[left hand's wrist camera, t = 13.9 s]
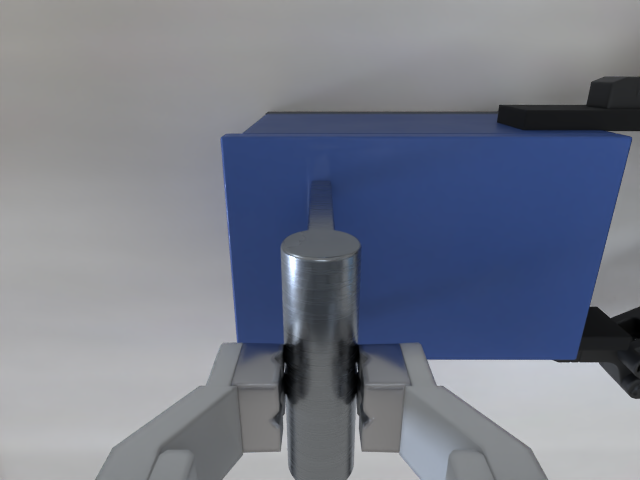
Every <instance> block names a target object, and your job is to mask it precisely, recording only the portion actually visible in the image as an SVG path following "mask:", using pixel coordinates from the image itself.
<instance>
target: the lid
mask: <svg viewBox="0 0 640 480" xmlns="http://www.w3.org/2000/svg"><path fill="white" fill-rule="evenodd" d="M631 142H632V137H630V136H626V135H621V134H225V135H224V136H222V137H221V150H222V162H223V174H224V186H225V199H226V211H227V223H228V236H229V248H230V260H231V272H232V285H233V297H234V309H235V322H236V334H237V343H243V344H244V343H274V344H284V352H285V378H286V415H287V443H288V466H289V470H290V472H291V474H292V476H293V477H294V479H295V480H347V479H348V477H349V476H350V474H351V472H352V470H353V465H354V442H355V415H356V380H357V353H358V344H398V343H420V344H421V346H422V348H423V351H424V353H425V356H426V359H427V360H575V359H576V358H577V354H578V350H579V346H580V342H581V338H582V334H583V330H584V326H585V322H586V318H587V314H588V310H589V307H590V303H591V299H592V295H593V291H594V287H595V283H596V279H597V275H598V271H599V267H600V263H601V259H602V255H603V252H604V248H605V244H606V240H607V236H608V232H609V228H610V224H611V220H612V216H613V212H614V208H615V204H616V200H617V197H618V193H619V189H620V185H621V181H622V177H623V173H624V169H625V165H626V161H627V157H628V153H629V149H630V145H631Z"/></svg>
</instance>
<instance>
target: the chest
mask: <svg viewBox="0 0 640 480" xmlns="http://www.w3.org/2000/svg"><path fill="white" fill-rule="evenodd" d="M497 118H498V112H267V113H266V115H265V116H263V117H262V118H261V119H260V120H259V121H257V122H256V123H255V124H254V125H252V126H251V127H250V128H249V129H247V130H246V131H245V132H244V133H242V134H616V133H612V132H608V131H603V130H521V129H518V128H514V127H511V126H507V125H504V124H501V123H497Z"/></svg>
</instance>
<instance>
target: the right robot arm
mask: <svg viewBox="0 0 640 480" xmlns="http://www.w3.org/2000/svg"><path fill="white" fill-rule="evenodd" d="M497 123H501V124H504V125H507V126H511V127H514V128H518V129H521V130H603V131H640V77H603V78H600V79H598V80H595V81H593V82H591V86H590V91H589V96H588V101H587V105H499V111H498V118H497ZM635 339H636V340H635ZM554 361H557V362H599V364H600V365H601V366H602V367H603V368H604V369H605V370H606V372H607V373H608V374H609V375H610V376H611V377H612V378H613V379H614V380H615V381H616V382H617V383H618V384H619V385H620V386H621V387H622V388H623V389H624V390H625V391H626V393H627V394H628V395H629V396H630V397H632V398H635V399H640V307H637V308H635V309H633V310H630V311H628V312H625V313H623V314H620V315H618V316H615V317H613V318H610V317H608V316H607V315H606V314H605V313H604V312H602V311H601V310H600V309H599V308H598V307H589V310H588V314H587V318H586V322H585V326H584V330H583V334H582V338H581V342H580V346H579V350H578V354H577V358H576V359H575V360H554Z"/></svg>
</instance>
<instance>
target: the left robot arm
mask: <svg viewBox="0 0 640 480" xmlns="http://www.w3.org/2000/svg"><path fill="white" fill-rule="evenodd" d="M284 366H285V352H284V344H274V343H244V344H243V343H223V344H222V345H221V346H220V348H219V351H218V354H217V356H216V359H215V362H214V365H213V367H212V370H211V373H210V375H209V378H208V381H207V384H206V386H199V387H197V388H196V389H195V390H193V391H192V392H190V393H189V394H188V395H186V396H185V397H183V398H182V399H181V400H179V401H178V402H176V403H175V404H174V405H172V406H171V407H169V408H168V409H167V410H165V411H164V412H162V413H161V414H160V415H158V416H157V417H155V418H154V419H153V420H151V421H150V422H148V423H147V424H146V425H144V426H143V427H141V428H140V429H138V430H137V431H136V432H134V433H133V434H131V435H130V436H129V437H127V438H126V439H124V440H123V441H122V442H120V443H119V444H117V445H116V446H115V447H113V448H112V450H111V452H110V454H109V456H108V457H107V459H106V461H105V463H104V465H103V466H102V468H101V470H100V472H99V474H98V475H97V477H96V479H95V480H222V479H223V478H224V477H225V475H226V474H227V473H228V472H229V471H230V470H231V468H232V467H233V466H234V465H235V464H236V462H237V461H238V460H239V459H240V458H241V456H242V455H243V453H244V452H279V451H281V443H282V434H283V415H284V414H285V404H286V378H285V372H284ZM357 366H358V372H357V380H356V403H357V414H358V415H359V432H360V441H361V449H362V452H398V453H400V456H401V457H402V458H403V459H404V460H405V462H406V463H407V464H408V465H409V466H410V468H411V469H412V470H413V471H414V472H415V473H416V475H417V476H418V477H419V478H420V479H421V480H548V478H547V477H546V475H545V473H544V471H543V469H542V468H541V466H540V464H539V462H538V461H537V459H536V457H535V455H534V453H533V452H532V450H531V448H529V447H528V446H527V445H525V444H524V443H522V442H521V441H520V440H518V439H517V438H515V437H514V436H513V435H511V434H510V433H508V432H507V431H506V430H504V429H503V428H501V427H500V426H499V425H497V424H496V423H494V422H493V421H491V420H490V419H489V418H487V417H486V416H484V415H483V414H482V413H480V412H479V411H477V410H476V409H475V408H473V407H472V406H470V405H469V404H468V403H466V402H465V401H463V400H462V399H461V398H459V397H458V396H456V395H455V394H453V393H452V392H451V391H449V390H448V389H446V388H445V387H444V386H437V385H436V383H435V380H434V377H433V375H432V372H431V369H430V367H429V364H428V361H427V359H426V356H425V353H424V351H423V348H422V346H421V344H420V343H398V344H358V353H357Z"/></svg>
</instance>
